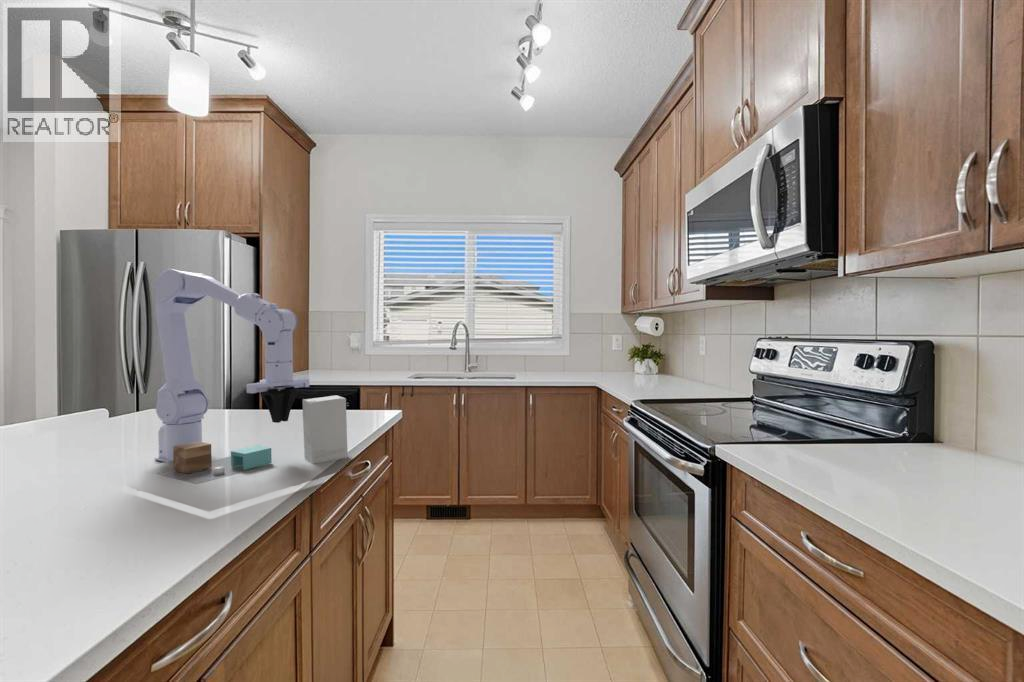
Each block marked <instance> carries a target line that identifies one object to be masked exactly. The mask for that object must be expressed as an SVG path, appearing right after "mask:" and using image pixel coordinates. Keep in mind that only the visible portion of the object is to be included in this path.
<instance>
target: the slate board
mask: <svg viewBox="0 0 1024 682" xmlns="http://www.w3.org/2000/svg"><path fill="white" fill-rule="evenodd" d="M271 465H274V464H273V463H269V464H265V465H262V466H258V467H254V468H250V469H246V470H244V469H243V465H240V466H235V467H231V455H229V456H226V457H221V458H218V459H212V468H207V469H203V470H199V471H195V472H190V473H183V472H179V471H175V470H174V468H172V469H169V470H164V471H159V472H156V475H157V474H158V475H161V476H165V477H169V478H173V479H175V480H180V481H184V482H186V483H191V484H194V485H198V484H202V483H205V482H209V481H214V480H218V479H221V478H222V479H223V478H225V477H230V476H234V475H237V474H242V473H244V472H249V471H252V470H253V471H254V470H256V469H262V468H263V467H268V466H271Z"/></svg>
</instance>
